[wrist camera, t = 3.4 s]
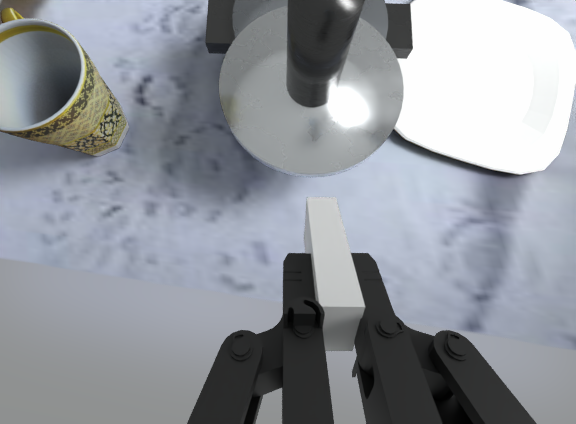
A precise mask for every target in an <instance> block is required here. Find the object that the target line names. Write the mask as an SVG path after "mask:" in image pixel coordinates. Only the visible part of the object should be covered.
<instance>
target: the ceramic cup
mask: <svg viewBox="0 0 576 424" xmlns="http://www.w3.org/2000/svg"><path fill="white" fill-rule="evenodd" d="M1 21H2V23H3V24H0V131H1V132H4V133H8V134H11V135H14V136H18V137H22V138H25V139H29V140H33V141H37V142H42V143H47V144H53V145H58V146H62V147H65V148H69V149H72V150H76V151H79V152H83V153H86V154H89V155H93V156H102V155H104V154H106V153H109V152H111V151H114V150H116V149H118V148H120V146H121V144H122V142H123V140H124V138H125V136H126V133H127V131H128V129H129V125H128V122H127V120H126V117H125V115H124V112H123V110H122V107H121V106H120V104H119V103H118V101H117V100H116V98H115V97H114V95H113V94H112V92H111V91H110V89H109V88H108V86H107V85H106V84H105V82H104V81H103V79H102V78H101V76H100V75H99V73H98V71H97V69H96V67H95V65H94V64H93V62H92V61H91V59H90V58H89V56H88V55H87V53H86V52H85V51H84V49H83V48H82V47H81V45H80V44H79V43H78V41H77V40H76V39H75V38H74V37H73V36H72V35H71V34H70V33H69V32H68V31H67V30H65V29H64V28H62V27H61V26H59V25H57V24H55V23H52V22H49V21H46V20H41V19H24V18H23V17H22V16H21V15H20V14H19V13H17V12H16V11H15V10H13V9H12V8H5V9H3V10H2V11H1Z"/></svg>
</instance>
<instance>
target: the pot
mask: <svg viewBox="0 0 576 424" xmlns="http://www.w3.org/2000/svg"><path fill="white" fill-rule="evenodd" d="M285 6H288V0H209V1H208V15H207V29H206V46H207V48H208V51H209V53H222V54H226V53H227V51H228V49H229V47H230V46H231V44H232V42H233V41H234V39H235V38H236V37H237V36H238V35H239V33H240V32H241V31H242V30H243V29H244V28H245V27H247V26H248V25H249V24H250V23H251V22H253V21H254V20H256V19H257V18H259V17H260V16H262V15H264V14H266V13H268V12H270V11H273V10H275V9H278V8H281V7H285ZM360 18H362V19H363V20H365V21H367V22H368V23H369V24H370V25H372V26H373V27H374V28H375V29H376V30H377V31H378V32H379V33H380V34H381V35H382V36H383V37H384V38H385V40H386V41H387V42H388V43H389V45H390V46H391V48H392V50H393V52H394V53H395V55H396V58H400V59H407V58H408V56H409V55H410V53H411V51H412V50H413V39H412V22H411V4H388V3H385V1H384V0H365V2H364V5H363V8H362V11H361V14H360Z"/></svg>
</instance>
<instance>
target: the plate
mask: <svg viewBox="0 0 576 424" xmlns="http://www.w3.org/2000/svg"><path fill="white" fill-rule="evenodd" d="M410 4H411V22H412V39H413V50H412V51H411V53H410V55H409V56H408V58H407V59H400V58H397V60H398V62H399V65H400V68H401V72H402V77H403V85H404V96H403V103H402V109H401V112H400V115H399V118H398V121H397V123H396V125H395V127H394V130H395V131H396V132H397V133H398V134H399V135H400V136H401V137H402V138H403V139H404V140H407V141H409V142H411V143H413V144H416V145H418V146H420V147H422V148H425V149H427V150H429V151H431V152H434V153H438V154H441V155H444V156H447V157H450V158H453V159H456V160H459V161H462V162H466V163H469V164H473V165H476V166H479V167H483V168H486V169H489V170H495V171H500V172H506V173H511V174H516V175H521V174H526V173H532V172H537V171H543V170H544V169H545V168H546V167H547V166H548V165H549V164H550V163H551V162H552V161H553V160H554V159H555V158H556V157H557V155H558V154H559V153H560V150H561V147H562V144H563V141H564V138H565V135H566V132H567V128H568V123H569V117H570V112H571V107H572V101H573V95H574V88H575V82H576V51H575V48H574V45H573V43H572V40H571V37H570V35H569V33H568V32H567V31H566V30H564V29H563V28H562V27H561V26H560V25H558V24H557V23H556V22H555V21H554V20H552V19H551V18H549V17H547V16H544V15H542V14H540V13H537V12H535V11H532V10H530V9H527V8H525V7H521V6H518V5H515V4H512V3H508V2H505V1H502V0H414V1H413V2H412V3H410Z"/></svg>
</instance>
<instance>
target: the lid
mask: <svg viewBox="0 0 576 424" xmlns="http://www.w3.org/2000/svg"><path fill="white" fill-rule="evenodd" d="M364 2H365V0H288V6H285V7H281V8H278V9H275V10H273V11H270V12H268V13H266V14H264V15H262V16H260V17H259V18H257V19H256V20H254V21H253V22H251V23H250V24H249V25H248V26H247V27H245V28H244V29H243V30H242V31H241V32H240V33H239V35H238V36H237V37H236V38H235V39H234V41H233V42H232V44H231V46H230V47H229V49H228V51H227V53H226V55H225V58H224V60H223V63H222V67H221V70H220V77H219V96H220V102H221V106H222V110H223V113H224V116H225V118H226V121H227V123H228V125H229V127H230V129H231V131H232V133H233V135H234V136H235V138H236V139H237V141H238V142H239V143H240V144H241V146H242V147H243V148H244V149H245V150H246V151H247V152H248V153H249V154H250V155H252V156H253V157H254V158H255V159H257V160H258V161H260V162H261V163H263V164H264V165H266V166H268V167H270V168H272V169H274V170H277V171H279V172H282V173H285V174H289V175H294V176H300V177H324V176H330V175H335V174H338V173H342V172H345V171H347V170H349V169H351V168H354V167H356V166H357V165H359V164H361V163H362V162H364V161H365V160H367V159H368V158H369V157H370V156H371V155H373V154H374V153H375V152H376V151H377V150H378V148H379V147H380V146H381V145H382V144H383V143H384V142H385V141H386V139H387V138H388V137H389V135H390V134H391V132H392V131H393V129H394V127H395V125H396V123H397V121H398V118H399V115H400V112H401V109H402V103H403V96H404V85H403V77H402V72H401V68H400V65H399V62H398V60H397V58H396V55H395V53H394V52H393V50H392V48H391V46H390V45H389V43H388V42H387V41H386V40H385V38H384V37H383V36H382V35H381V34H380V33H379V32H378V31H377V30H376V29H375V28H374V27H373V26H372V25H370V24H369V23H368V22H367V21H365V20H363V19H362V18H360V14H361V11H362V8H363V5H364Z"/></svg>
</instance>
